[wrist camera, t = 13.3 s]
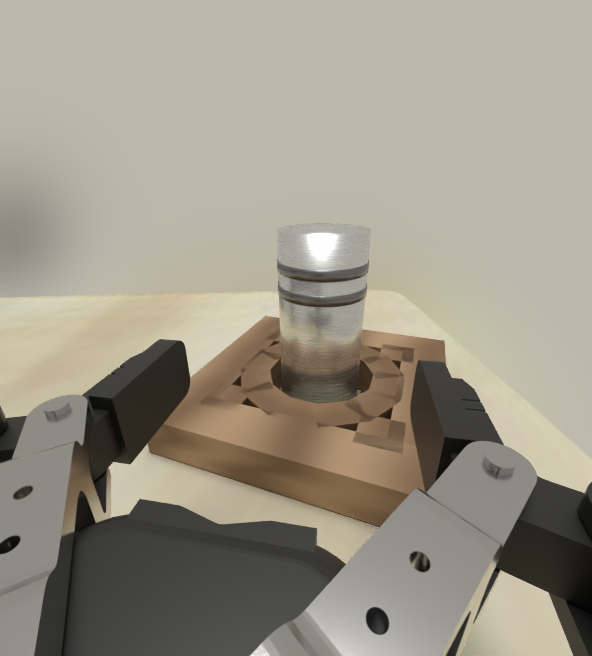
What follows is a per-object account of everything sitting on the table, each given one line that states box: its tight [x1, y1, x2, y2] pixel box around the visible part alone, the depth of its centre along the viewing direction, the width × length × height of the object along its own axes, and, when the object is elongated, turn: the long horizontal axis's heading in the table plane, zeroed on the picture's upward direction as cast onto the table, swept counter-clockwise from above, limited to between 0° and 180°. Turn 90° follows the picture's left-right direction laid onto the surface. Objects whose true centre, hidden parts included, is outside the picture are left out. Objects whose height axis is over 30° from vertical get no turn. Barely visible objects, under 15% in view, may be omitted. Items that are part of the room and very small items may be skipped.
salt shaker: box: [277, 223, 371, 404], centre depth 21 cm, size 5×5×12 cm
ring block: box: [148, 316, 446, 526], centre depth 23 cm, size 16×16×2 cm
